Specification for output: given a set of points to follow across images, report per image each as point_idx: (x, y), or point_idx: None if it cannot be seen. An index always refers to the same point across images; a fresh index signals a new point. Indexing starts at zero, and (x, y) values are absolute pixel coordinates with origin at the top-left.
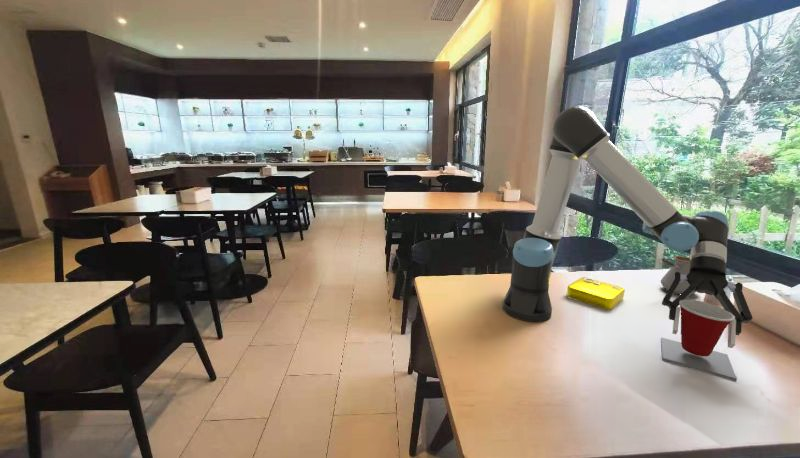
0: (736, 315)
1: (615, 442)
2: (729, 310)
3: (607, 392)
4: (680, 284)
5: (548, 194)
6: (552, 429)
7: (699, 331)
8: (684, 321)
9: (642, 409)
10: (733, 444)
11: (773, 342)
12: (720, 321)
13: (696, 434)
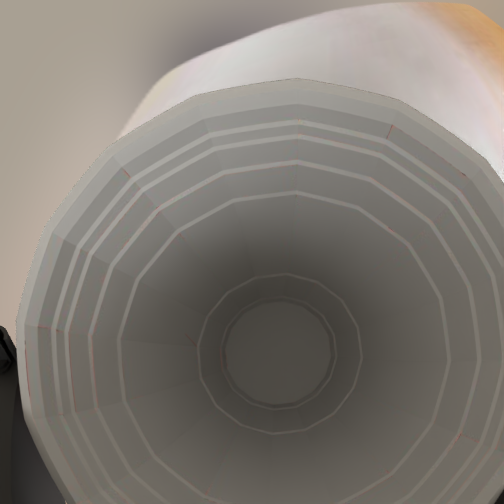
0: (4, 384)
1: (397, 8)
2: (24, 454)
3: (446, 71)
4: None
5: None
6: (449, 17)
7: (316, 230)
8: (416, 289)
9: (392, 49)
10: (265, 30)
11: None
12: (190, 136)
13: (314, 29)
